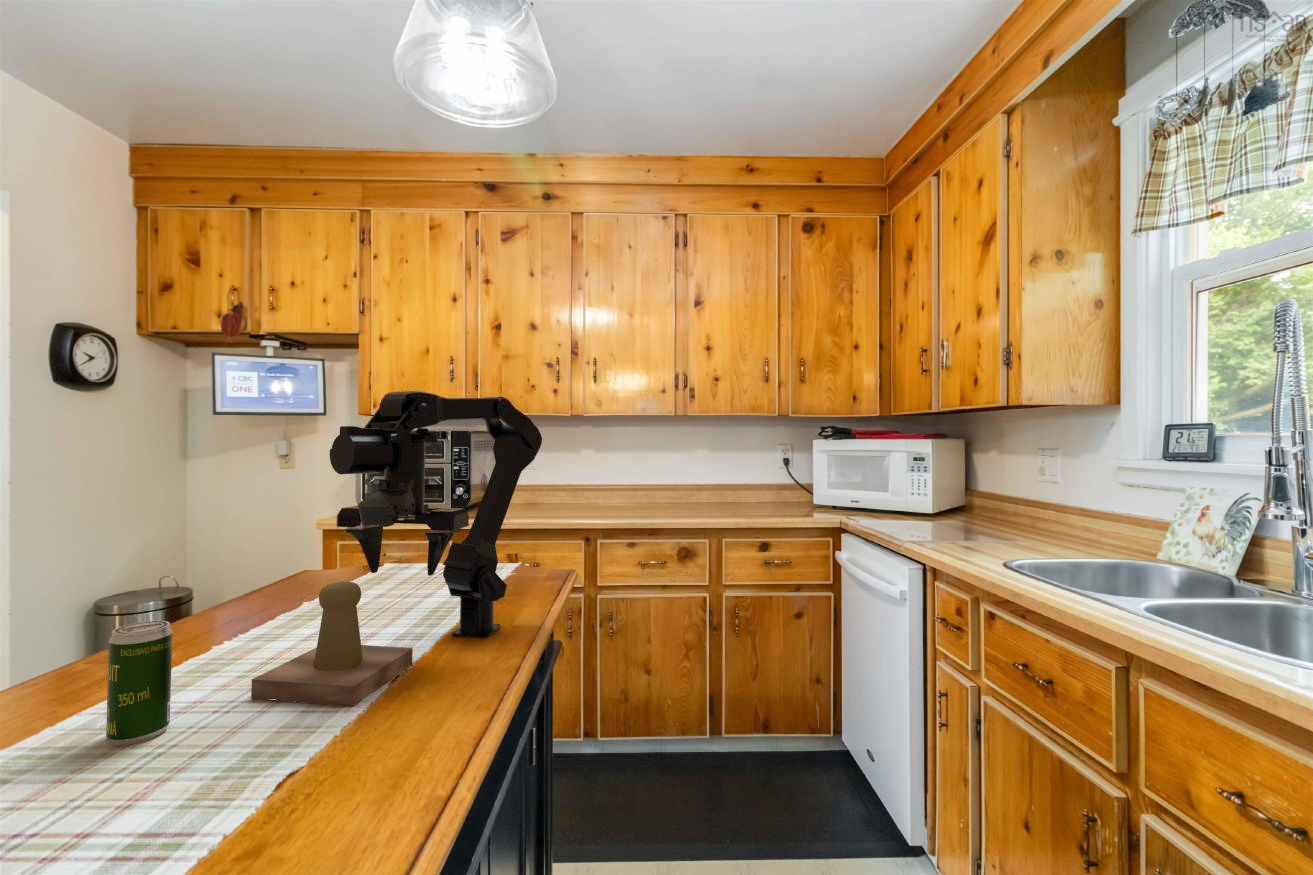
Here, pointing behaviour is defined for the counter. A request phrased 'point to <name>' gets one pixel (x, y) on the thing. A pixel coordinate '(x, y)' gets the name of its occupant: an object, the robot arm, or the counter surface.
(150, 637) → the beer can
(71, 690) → the counter surface
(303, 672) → the walnut base
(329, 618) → the olive brown game pawn
